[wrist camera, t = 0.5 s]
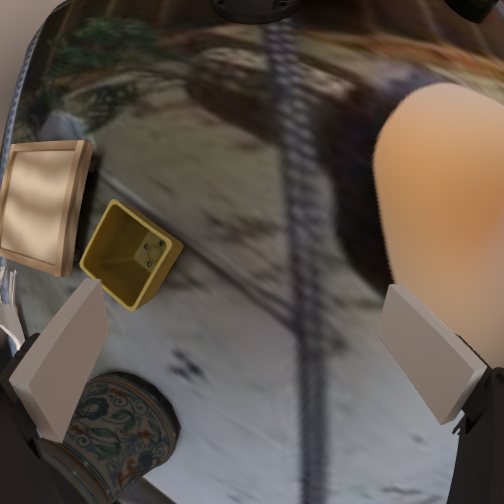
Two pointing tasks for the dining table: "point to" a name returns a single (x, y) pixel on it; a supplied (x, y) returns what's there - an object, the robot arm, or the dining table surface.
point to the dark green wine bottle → (473, 8)
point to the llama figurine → (10, 312)
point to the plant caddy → (44, 203)
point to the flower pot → (129, 255)
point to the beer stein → (111, 439)
